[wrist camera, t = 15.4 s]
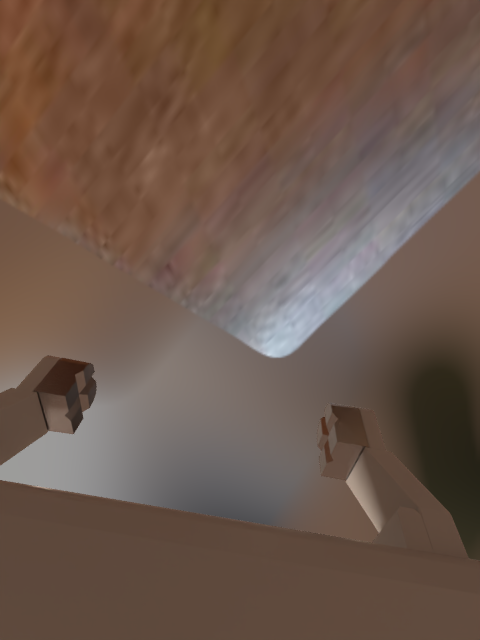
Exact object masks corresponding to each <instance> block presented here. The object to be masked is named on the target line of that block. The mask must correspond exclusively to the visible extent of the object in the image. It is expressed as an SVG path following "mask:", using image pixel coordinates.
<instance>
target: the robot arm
mask: <svg viewBox="0 0 480 640" xmlns="http://www.w3.org/2000/svg"><path fill="white" fill-rule="evenodd" d="M94 372H95V371H94V367H93V364H91V363H86V362H81V361H76V360H71V359H66V358H59V357H53V356H46V357H44V358H43V359H42V360H41V361H40V362H39V363H38V364H37V366H36V367H35V368H34V369H33V370H32V371H31V373H30V374H29V375H28V376H27V377H26V378H25V379H24V380H23V381H22V382H21V384H20V385H19V386H18V387H17V388H16V389H15V388H10V389H8V390H6V391H4V392H2V393H0V465H2V464H3V463H4V462H6V461H7V460H9V459H10V458H12V457H13V456H14V455H16V454H17V453H19V452H20V451H22V450H23V449H24V448H26V447H27V446H29V445H30V444H32V443H33V442H34V441H36V440H37V439H39V438H40V437H42V436H43V435H45V434H46V433H47V432H48V431H54V432H62V433H69V434H74V433H75V431H76V429H77V428H78V426H79V424H80V423H81V421H82V419H83V414H82V412H83V411H85V410H87V409H88V408H90V406H91V404H92V402H93V400H94V398H95V394H96V387H97V386H96V381H95V380H94V379H93V378H92V375H93V373H94ZM324 412H325V417H323V418H321V419H320V422H319V425H318V430H317V445H318V447H319V448H320V450H321V451H322V452H321V454H320V456H319V463H320V471H321V476H326V477H330V478H336V479H341V480H346V482H347V484H348V486H349V487H350V489H351V490H352V492H353V493H354V495H355V497H356V498H357V500H358V501H359V503H360V504H361V506H362V507H363V509H364V510H365V512H366V514H367V515H368V517H369V518H370V519H371V521H372V523H373V524H374V526H375V527H376V529H377V530H378V532H379V534H378V535H377V537H376V538H375V539H374V540H373V542H372V543H371V542H365V541H359V540H353V539H347V538H341V537H336V536H330V535H324V534H318V533H311V532H306V531H300V530H293V529H287V528H282V527H276V526H270V525H264V524H258V523H252V522H246V521H240V520H234V519H228V518H222V517H216V516H210V515H204V514H198V513H192V512H186V511H181V510H174V509H169V508H162V507H157V506H151V505H145V504H139V503H133V502H127V501H121V500H115V499H109V498H103V497H97V496H91V495H86V494H80V493H74V492H68V491H61V490H56V489H50V488H44V487H38V486H32V485H26V484H20V483H14V482H7V481H2V480H0V640H480V561H479V560H473V559H469V558H468V555H467V553H466V551H465V548H464V546H463V543H462V541H461V538H460V536H459V534H458V531H457V528H456V526H455V524H454V521H453V519H452V516H451V514H450V513H449V512H448V511H447V510H446V509H445V508H444V507H443V506H442V504H441V503H439V501H438V500H437V499H436V498H435V497H434V496H433V495H432V494H431V493H430V492H429V491H428V490H427V489H426V488H425V487H424V486H423V485H422V484H421V483H420V481H419V480H418V479H416V477H415V476H414V475H413V474H412V473H411V472H410V471H409V470H408V469H407V468H406V467H405V466H404V465H403V464H402V463H401V462H400V461H399V460H398V459H397V458H396V456H395V455H394V454H393V453H392V452H390V451H386V448H385V445H384V441H383V438H382V435H381V432H380V428H379V426H378V422H377V419H376V415H375V413H374V411H373V410H371V409H364V408H359V407H352V406H345V405H339V404H333V403H328V404H327V405H326V407H325V410H324Z"/></svg>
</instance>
